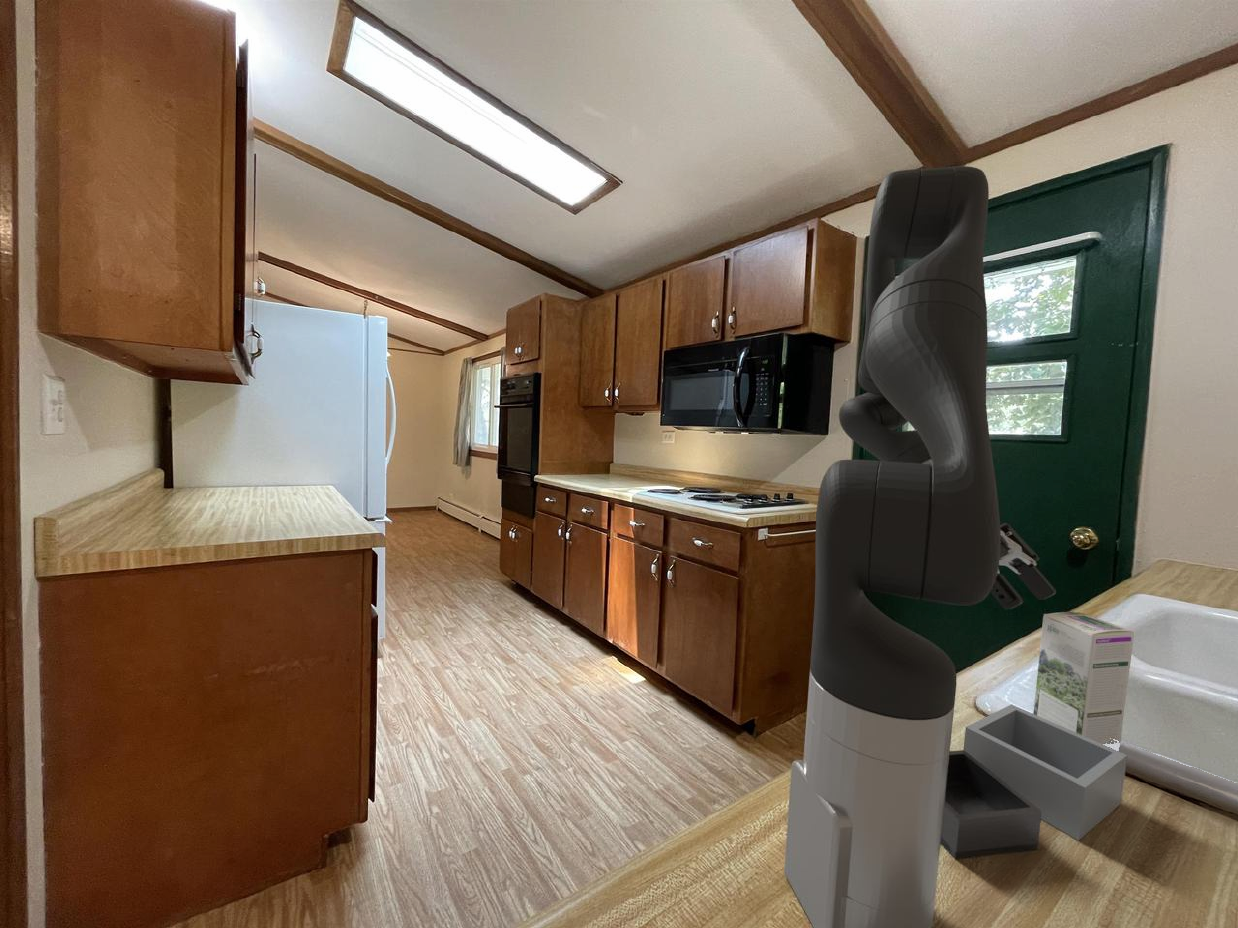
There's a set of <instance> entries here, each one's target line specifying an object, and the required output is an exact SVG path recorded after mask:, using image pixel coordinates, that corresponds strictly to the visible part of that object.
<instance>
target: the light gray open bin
mask: <svg viewBox="0 0 1238 928" xmlns="http://www.w3.org/2000/svg"><path fill="white" fill-rule="evenodd" d="M964 731H965V732H964V740H963V749H962V750H964V751H966V752H967V753H968V754H969V755H971V756H972V757H973V758H975V759H976V760H977V761H978V762H980V763H981V764H982V765H983V766H985V767H986V768H987V769H988V770H990V771H991V772H992V773H994V774H995V775H996V776H997V777H999V778H1000V779H1001V780H1002V781H1004V782H1005V783H1006V784H1008V785H1009V786H1010V787H1011V788H1013V789H1014V790H1015V791H1016V792H1018V793H1019V794H1020V795H1022V796H1023V797H1024V798H1025V799H1027V800H1028V801H1029V802H1030V803H1032V804H1033V805H1034V806H1036V807H1037V808H1038V809H1039V810H1041V811H1042V814H1041V821H1044V822H1045V823H1047V824H1049V825H1050V826H1052V827H1054V828H1055V829H1058V830H1060V832H1063V833H1064V834H1066V835H1068V836H1069V837H1071V838H1073V839H1074V840H1077V841H1080V840H1081V839H1082V838H1083V837H1085V836H1086V835H1087V834H1088V833H1089V832H1090V831H1091V830H1092V829H1094V828H1095V827H1096V826H1097V825H1098V824H1100V822H1102V821H1103V820H1105V818H1107V817H1108V816H1109V815H1110V814H1111V813H1112V812H1113V811H1115V810H1116V808H1117V807H1119V806H1120V805H1121V804H1122V798H1123V792H1124V791H1123V790H1124V783H1125V775H1126V769H1127V768H1126V767H1127V761H1128V754H1125V753H1123V752H1121V751H1120V752H1119V751H1116V750H1114V749H1112V748H1110V747H1107V746H1105V745H1103V744H1101V743H1098V742H1096V741H1094V740H1091V739H1089V738H1087V737H1085V736H1082V735H1080V734H1078V733H1075V732H1073V731H1071V730H1069V729H1066V728H1064V727H1062V726H1060V725H1057V724H1055V723H1053V722H1050V721H1048V720H1046V719H1044V718H1041V717H1039V716H1037V715H1035V714H1033V713H1032V712H1030V711H1028V710H1025V709H1023V708H1021V707H1019V706H1016V705H1013V704H1009V705H1008V706H1005V707H1003V708H1001V709H999V710H997V711H995V712H993V713H991V714H990V715H987V716H985V717H983V718H982V719H978V720H977V721H974V722H973V723H970V724H969V725H967V726H965V730H964Z"/></svg>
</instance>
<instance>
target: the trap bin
mask: <svg viewBox="0 0 1238 928" xmlns="http://www.w3.org/2000/svg"><path fill="white" fill-rule="evenodd" d="M1041 814H1042V811H1041V810H1039V809H1038V808H1037V807H1036V806H1034V805H1033V804H1032V803H1030V802H1029V801H1028V800H1027V799H1025V798H1024V797H1023V796H1022V795H1020V794H1019V793H1018V792H1016V791H1015V790H1014V789H1013V788H1011V787H1010V786H1009V785H1008V784H1006V783H1005V782H1004V781H1002V780H1001V779H1000V778H999V777H997V776H996V775H995V774H994V773H992V772H991V771H990V770H988V769H987V768H986V767H985V766H983V765H982V764H981V763H980V762H978V761H977V760H976V759H975V758H973V757H972V756H971V755H969V754H968V753H967V752H966V751H964V750H963V749H962V750H950V752H949V762H948V772H947V783H946V793H945V803H944V813H943V823H942V833H941V843H940V845H942V846H943V848H944V849H945V850H946V851H947V852H948V853H949V854H950V856H952V857H953V858H954V859H955V860H958V859H961V860H962V859H966V858H967V859H968V858H975V857H978V858H979V857H985V856H993V855H1003V854H1011V853H1019V852H1028V851H1035V850H1036V851H1037V850H1038V848H1039V847H1038V846H1039V837H1040V828H1041V823H1042V822H1041V821H1042V819H1041Z"/></svg>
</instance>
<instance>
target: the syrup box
mask: <svg viewBox="0 0 1238 928" xmlns="http://www.w3.org/2000/svg"><path fill="white" fill-rule="evenodd" d="M1134 635H1135V634H1134V631H1132V630H1131V629H1127V628H1124V627H1122V626H1119V625H1116V624H1113V623H1111V622H1108V621H1105V620H1102V619H1100V618H1097V617H1094V616H1091V615H1089V614H1086V613H1083V612H1077V611H1060V612H1051V613H1043V616H1042V627H1041V636H1040V644H1039V645H1040V647H1039V655H1038V657H1039V658H1038V666H1037V673H1036V675H1037V676H1036V685H1035V692H1034V693H1035V694H1034V705H1033V713H1032V714H1035V715H1037V716H1039V717H1041V718H1044V719H1046V720H1048V721H1050V722H1053V723H1055V724H1057V725H1060V726H1062V727H1064V728H1066V729H1069V730H1071V731H1073V732H1075V733H1078V734H1080V735H1082V736H1085V737H1087V738H1089V739H1091V740H1094V741H1096V742H1098V743H1101V744H1106V743H1107V744H1110V743H1111V744H1114V742H1115V743H1117V741H1114V740H1113V739H1115V740H1118V741H1119V743H1120V742H1121V743H1122V733H1123V731H1122V730H1123V723H1124V716H1125V715H1124V714H1125V706H1126V698H1127V689H1128V682H1129V677H1130V676H1129V675H1130V668H1131V661H1132V655H1133V654H1132V653H1133V645H1134ZM1110 738H1111V739H1110ZM1111 741H1112V742H1111Z"/></svg>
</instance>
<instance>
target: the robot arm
mask: <svg viewBox="0 0 1238 928" xmlns="http://www.w3.org/2000/svg"><path fill="white" fill-rule="evenodd" d="M989 195H990V191H989V182H988V179H987V176H986V174H985V173H984V171H983V170H982V169H980V168H977V167H974V166H967V165H959V166H958V165H957V166H943V167H942V166H941V167H928V168H921V169H920V168H914V169H904V170H903V169H902V170H896V171H893V172H890V173H888V175H886V176H885V177H884V179H883V180H882V181H881V184H880V185H879V188H878V191H877V194H876V197H875V202H874V205H873V209H872V215H871V221H870V227H869V228H870V229H869V238H868V250H867V266H866V267H867V268H866V283H865V284H866V287H865V327H864V328H865V329H864V338H863V344H862V349H861V356H860V361H859V367H858V372H857V379H858V383H859V386H860V388H861V389H862V390H864V391H865V393H863V394H860V395H856V396H855V397H852V398H850V399H848V400H846V401H845V402H844V403H842V405H841V406H840V408H839V412H838V420H839V423H840V427H841V428H842V430H843V431H844V432H845V434H846V435H847V437H848V438H850V439H851V440H852V441H853V442H854V443H856V444H858V445H859V446H860V447H861V448H863V449H864V450H866V451H867V452H868V453H870V454H871V455H872V456H874V457H875V458H876V459H878V460H872V459H871V460H870V459H869V460H868V459H866V460H865V459H840V460H837V461H835V462H833V463H832V464H831V465H830V466H829V467H828V468H827V469H826V472H825V474H824V476H823V477H822V480H821V483H820V485H819V486H820V487H819V490H818V499H817V503H816V504H817V506H816V521H815V578H814V579H815V584H814V585H815V588H814V609H813V623H812V624H813V625H812V626H813V627H812V638H811V639H812V641H811V652H810V653H811V654H810V665H809V679H808V692H807V693H808V694H807V708H806V720H805V733H804V746H803V747H804V748H803V758H802V759H799V760H797V759H796V760H793V761H792V762H791V763H792V764H791V770H790V783H789V795H788V796H789V798H788V812H787V822H786V823H787V826H786V839H785V840H786V841H785V842H786V843H785V852H784V853H785V857H784V865H783V866H784V870H783V871H784V875H785V877H786V879H787V881H788V882H789V884H790V886H791V888H792V890H793V891H794V893H795V895H796V897H797V900H798V901H799V903H800V905H801V907H802V908H803V911H804V912H805V915H806V917H807V918H808V920H809V921H810V923H811V925H812V928H933V925H934V924H933V922H934V913H935V903H936V891H937V881H938V871H939V864H940V863H939V862H940V851H941V833H942V823H943V813H944V803H945V793H946V783H947V772H948V762H949V752H950V751H951V745H952V744H951V743H952V733H953V732H952V731H953V724H954V723H953V722H954V713H955V712H954V711H955V703H956V702H955V701H956V694H957V693H956V692H957V672H956V671H957V670H956V667H955V665H954V663H953V661H952V659H951V658H950V657H949V656H948V654H947V653H946V652H945V651H944V650H943V649H942V648H940V647H939V646H938V645H937V644H935V643H933V642H932V641H931V640H929V639H927V638H925V636H922V635H920V634H918V633H916V632H914V631H913V630H911V629H910V628H907V627H906V626H904V625H902V624H901V623H898V622H896V621H895V620H893V619H891V618H890V617H889V616H888V615H886V614H884V612H882V611H881V610H880V609H879V608H878V607H876V606H875V605H874V604H873V603H872V602H871V601H870V600H869V598H867V596H866V594H865V593H864V591H870V592H873V593H874V592H876V593H879V594H886V595H891V596H896V597H903V598H908V599H914V600H919V599H920V600H921V601H924V602H931V603H938V604H944V605H952V606H963V607H964V606H965V607H967V606H968V607H969V606H973V605H976V604H979V603H981V602H982V601H984V600H985V599H986V598H987V597H988V596H989V594H991V595H992V596H993V597H994V599H995V600H996V601H997V602H998V603H999V605H1000V606H1001V607H1002V609H1004V610H1007V611H1008V610H1011V609H1014V608H1016V607H1018V606H1020V605H1022V604H1023V603H1024V599H1023V598H1022V596H1021V595H1020V594H1019V593H1018V591H1017V590H1016V589H1015V588H1014V587H1013V586H1012V584H1011V583H1010V582H1009V581H1008V579H1006V577H1005V576H1004V575H1003V574H1002V573H1000V569H999V568H1000V566H1005V567H1007V568H1009V569H1010V570H1011V571H1012V572H1014V573H1015V574H1017V576H1018V578H1019V579H1020V580H1021V581H1022V583H1023V584H1024V585H1025V586H1026V587H1027V588H1028V590H1029V591H1030V592H1031V593H1032V594H1033V596H1034V597H1035V598H1036V599H1037V600H1040V601H1043V600H1046V599H1048V598H1050V597H1052V596H1054V595H1056V593H1057V590H1056V588H1055V587H1054V586H1053V585H1052V584H1051V583H1050V581H1049V580H1048V579H1047V578H1046V577H1045V576H1044V575H1043V574H1042V572H1041V571H1040V570H1039V569H1038V568H1037V567H1036V566H1037V565H1038V564H1037V561H1040V557H1039V556H1038V554H1037V553H1036V552H1035V551H1034V550H1033V549H1032V548H1031V547H1030V546H1029V545H1028V543H1027V542H1026V541H1025V540H1024V539H1023V538H1022V537H1021V536H1020V535H1019V534H1018V533H1017V531H1015V530H1014V529H1013V528H1012V526H1011V525H1010V524H1009V523H1007V522H1003V523H1002V524H1001V520H1000V518H1001V517H1000V509H999V499H998V489H997V481H996V475H995V468H994V461H993V460H994V459H993V452H992V445H991V438H990V437H991V436H990V430H989V422H988V413H987V412H988V410H987V408H988V407H987V371H988V369H987V367H988V345H989V344H988V338H989V337H988V335H989V334H988V309H987V302H986V301H987V299H986V290H985V289H986V288H985V276H984V275H985V274H984V250H985V240H986V239H985V238H986V232H987V221H988V220H987V219H988V211H989V198H990V197H989ZM902 259H904V260H917V259H918V261H917V262H915V263H914V264H912V265H911V266H910V267H908V268H906V269H905V270H904V271H903V272H902V273H900V274H899V275H898V276H897V277H896V272H895V260H902ZM907 423H908V424H910V426H911V427H912V428H913V429H914V430H907V431H896V430H897V429H899V428H901V427H903V426H904V425H906V424H907Z"/></svg>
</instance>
